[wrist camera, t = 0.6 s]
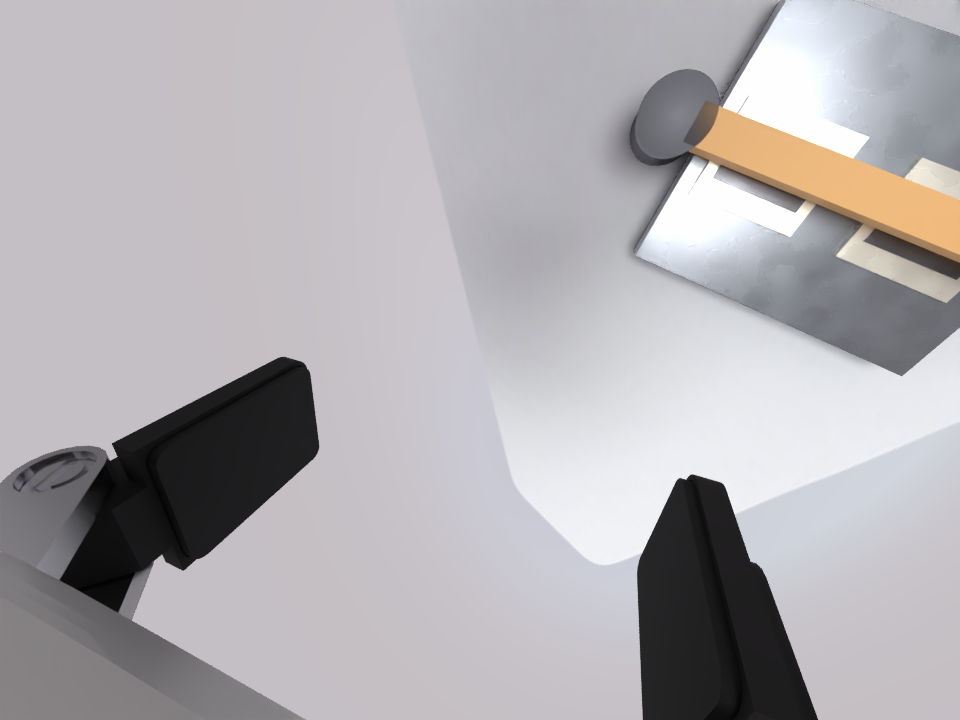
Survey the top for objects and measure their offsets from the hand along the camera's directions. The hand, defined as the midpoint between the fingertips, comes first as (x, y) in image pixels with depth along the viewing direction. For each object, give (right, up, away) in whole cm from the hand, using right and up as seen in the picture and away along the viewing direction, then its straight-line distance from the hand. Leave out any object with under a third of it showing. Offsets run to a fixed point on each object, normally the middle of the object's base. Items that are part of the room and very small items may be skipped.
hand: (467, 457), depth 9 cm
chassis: (+25, +13, +16) cm, 33 cm away
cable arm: (+22, +12, +13) cm, 28 cm away
